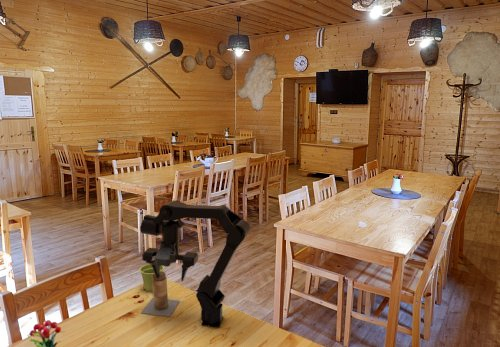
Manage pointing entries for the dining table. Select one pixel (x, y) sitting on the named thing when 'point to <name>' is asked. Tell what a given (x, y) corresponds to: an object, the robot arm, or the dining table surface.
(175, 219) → the robot arm
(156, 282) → the oak pepper mill
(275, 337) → the dining table surface
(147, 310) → the slate coaster
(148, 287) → the plant pot
